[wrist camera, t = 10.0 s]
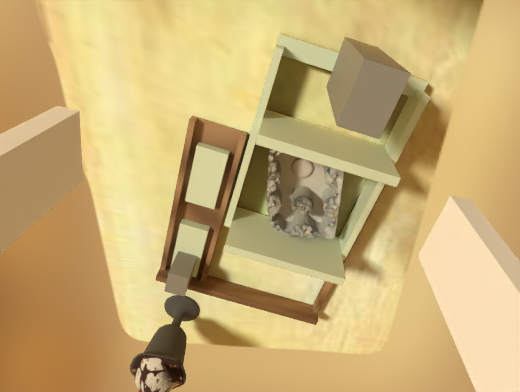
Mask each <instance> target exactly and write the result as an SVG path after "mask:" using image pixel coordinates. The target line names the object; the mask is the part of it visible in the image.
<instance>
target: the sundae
mask: <svg viewBox="0 0 520 392" xmlns="http://www.w3.org/2000/svg"><path fill="white" fill-rule="evenodd" d="M165 310H166V312H167V314H168V315H170V316H171V317H172V318H174V319H173V322H172V324H168V325H165V326H162V327H160V328H159V329H158V331H157V332H156V333H155V335H154V336H153V338H152V339H151V341H150V343H149V345H148V346H147V348H146V350H145V351H144V353H141V354H138V355H137V356H136V357H135V358H134V359H133V361H132V363H131V365H130V371H131V373H132V374H133V375H134V376H135V381H136V385H137V387H138V389H139V390H140V391H139V392H170V390H171V389H174V388H176V387H179V386H181V385H183V384H184V383H185V381H186V374H185V370H184V367H183V361H184V355H185V349H186V334H185V332H184V331H183V329H182V328H181V327H180V324H181V322H182V321H191V320H193V319H195V318H196V317H197V316H198V314H199V307H198V305H197V304H196V302H195V301H193V300H192V299H190V298H189V297H186V296H180V295H176V296H172V297H170V298H168V299H167V300H166V302H165Z"/></svg>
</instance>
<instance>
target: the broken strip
mask: <svg viewBox="0 0 520 392" xmlns="http://www.w3.org/2000/svg"><path fill="white" fill-rule="evenodd" d="M229 153H230V151H227V150H224V149H221V148H217V147H214V146H211V145H207V144H204V143H201V142H199V143H198V144H197V146H196V151H195V156H194V160H193V165H192V170H191V174H190V179H189V184H188V188H187V193H186V198H185V201H187V202H190V203H194V204H197V205H201V206H204V207H207V208H211V209H214V208H215V206H216V202H217V198H218V195H219V191H220V187H221V183H222V179H223V176H224V172H225V168H226V164H227V161H228V157H229ZM209 228H210V226H206V225H203V224H199V223H196V222H192V221H189V220H185V219H182V220H181V222H180V226H179V231H178V235H177V240H176V245H175V249H174V254H173V259H172V263H171V268H170V270H169V272H168V277H167V281H166V286H165V291H166V292H169V293H173V294H176V295H180V296H185V293H186V291H187V288H188V285H189V283H190V280H191V277H195V278H196V276H197V273H198V270H199V266H200V262H201V258H202V255H203V251H204V247H205V243H206V240H207V236H208V232H209Z"/></svg>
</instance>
